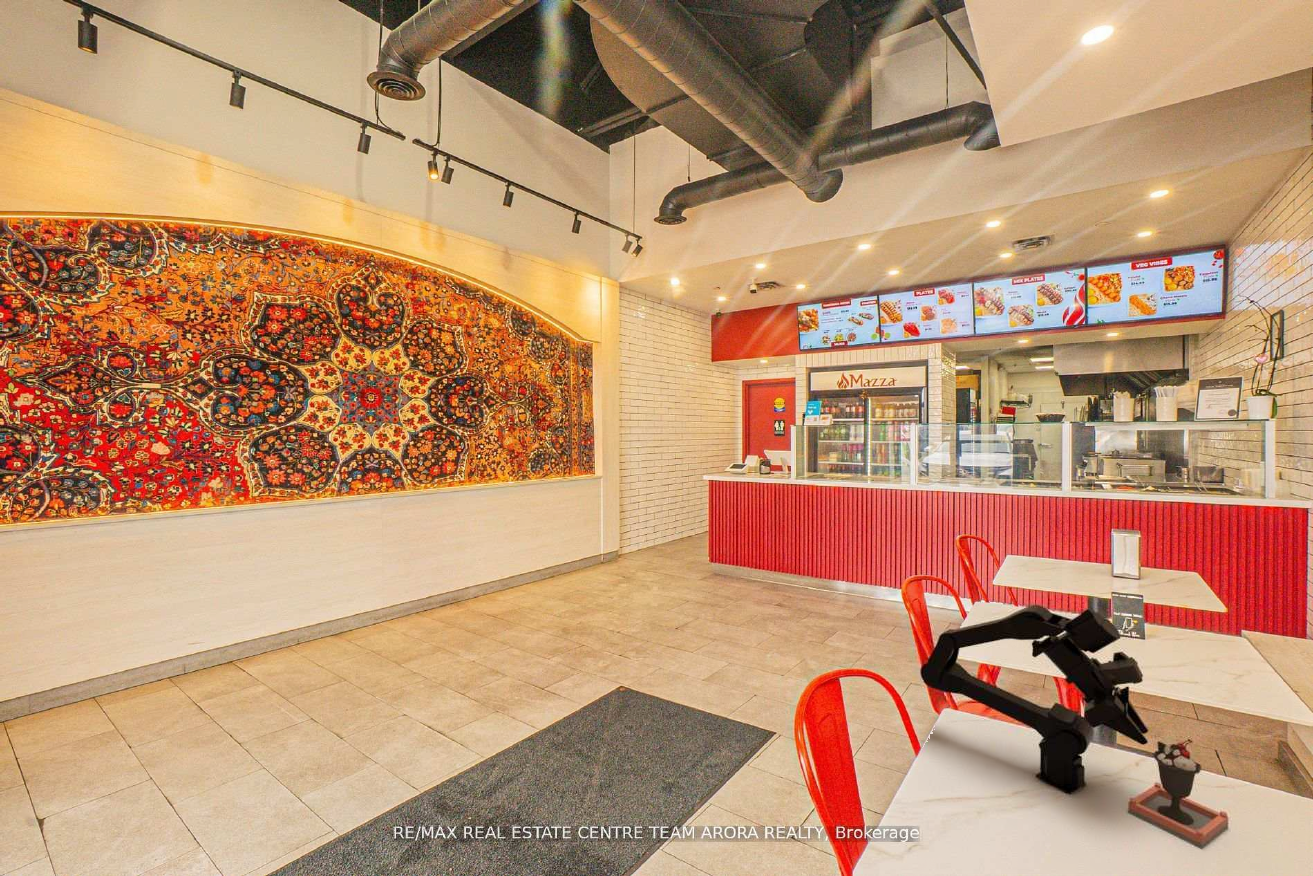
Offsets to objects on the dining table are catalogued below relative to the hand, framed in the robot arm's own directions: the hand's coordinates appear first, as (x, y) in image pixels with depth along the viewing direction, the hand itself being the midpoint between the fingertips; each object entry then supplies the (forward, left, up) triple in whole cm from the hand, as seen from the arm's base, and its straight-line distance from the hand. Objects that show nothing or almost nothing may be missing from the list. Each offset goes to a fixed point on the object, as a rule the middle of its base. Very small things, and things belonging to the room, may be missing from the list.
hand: (1145, 738), depth 110 cm
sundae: (+4, +1, -13) cm, 14 cm away
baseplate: (+4, +2, -14) cm, 14 cm away
